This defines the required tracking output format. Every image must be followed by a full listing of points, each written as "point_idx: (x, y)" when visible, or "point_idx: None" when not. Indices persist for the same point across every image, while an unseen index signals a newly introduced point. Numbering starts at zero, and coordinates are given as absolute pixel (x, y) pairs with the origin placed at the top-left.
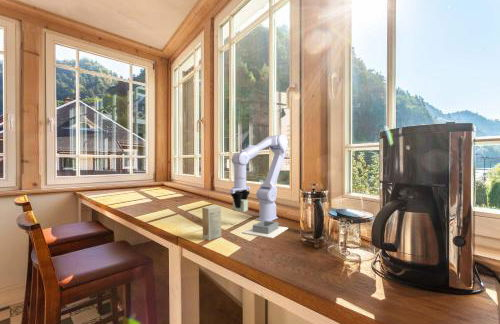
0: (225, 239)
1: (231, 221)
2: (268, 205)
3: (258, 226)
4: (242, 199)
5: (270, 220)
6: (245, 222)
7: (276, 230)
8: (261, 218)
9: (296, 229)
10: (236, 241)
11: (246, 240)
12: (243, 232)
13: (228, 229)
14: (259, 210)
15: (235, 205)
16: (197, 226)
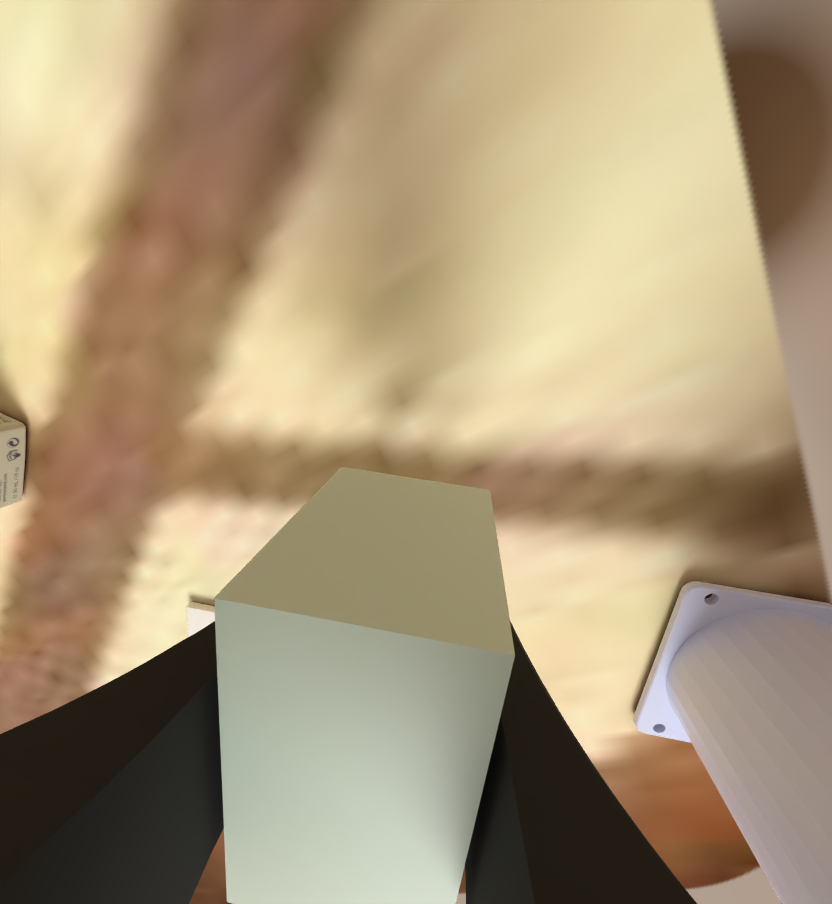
0: (10, 549)
1: (523, 323)
2: None
3: None
4: (449, 836)
5: (652, 733)
6: (534, 505)
7: None
8: (686, 654)
9: (464, 892)
10: (30, 627)
11: (83, 674)
12: (188, 617)
13: (216, 454)
14: (809, 707)
15: None
16: (110, 12)
